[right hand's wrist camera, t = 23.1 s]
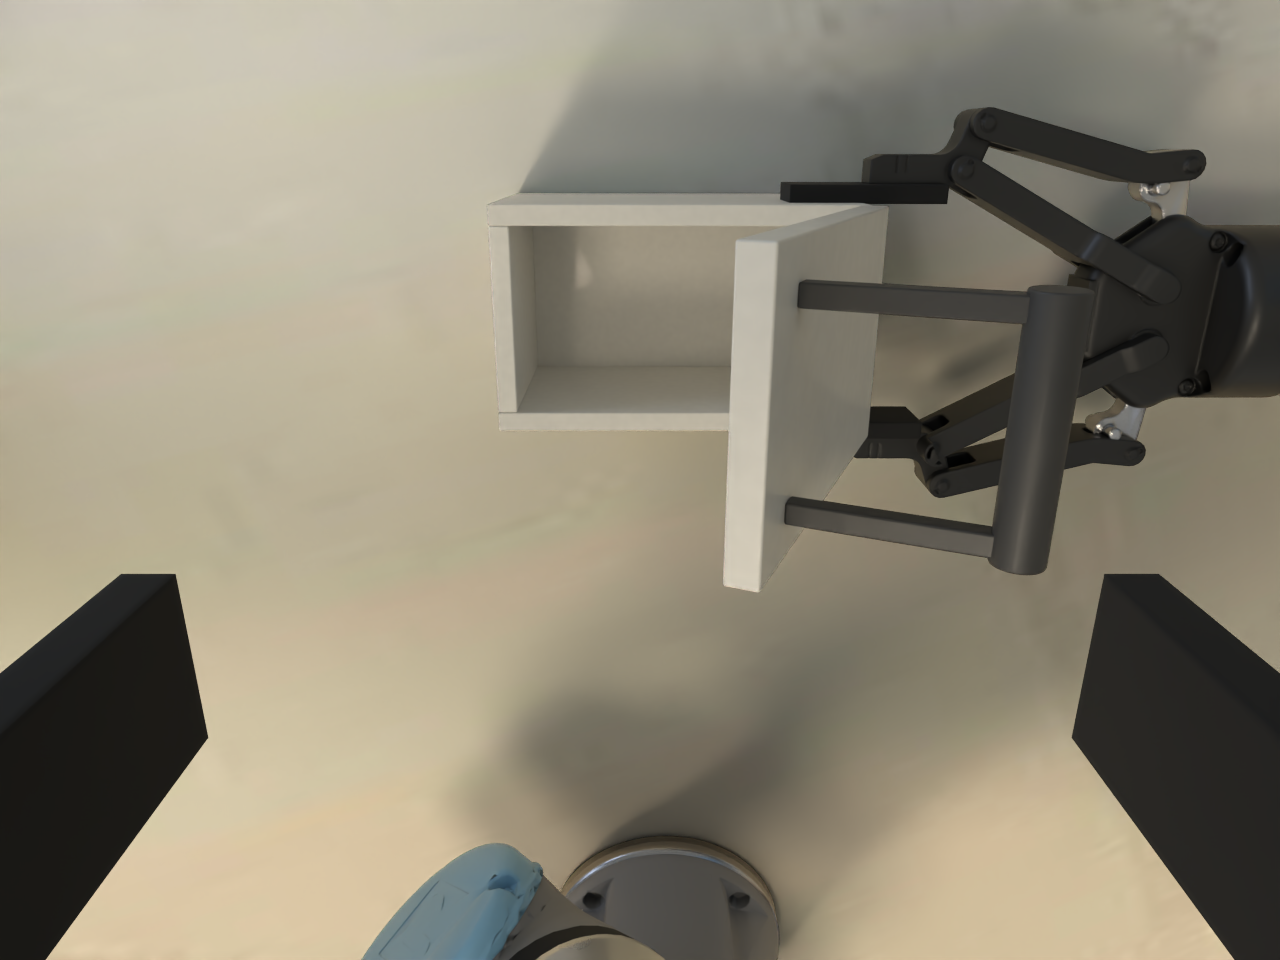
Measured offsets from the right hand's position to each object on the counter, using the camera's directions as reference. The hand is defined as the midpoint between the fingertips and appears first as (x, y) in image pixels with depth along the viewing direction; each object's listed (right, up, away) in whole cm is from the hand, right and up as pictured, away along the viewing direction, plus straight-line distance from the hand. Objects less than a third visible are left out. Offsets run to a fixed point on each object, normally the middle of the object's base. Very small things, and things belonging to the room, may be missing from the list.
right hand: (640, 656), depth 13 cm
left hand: (+6, +10, +27) cm, 29 cm away
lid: (+6, +6, +17) cm, 19 cm away
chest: (+2, +12, +34) cm, 36 cm away
